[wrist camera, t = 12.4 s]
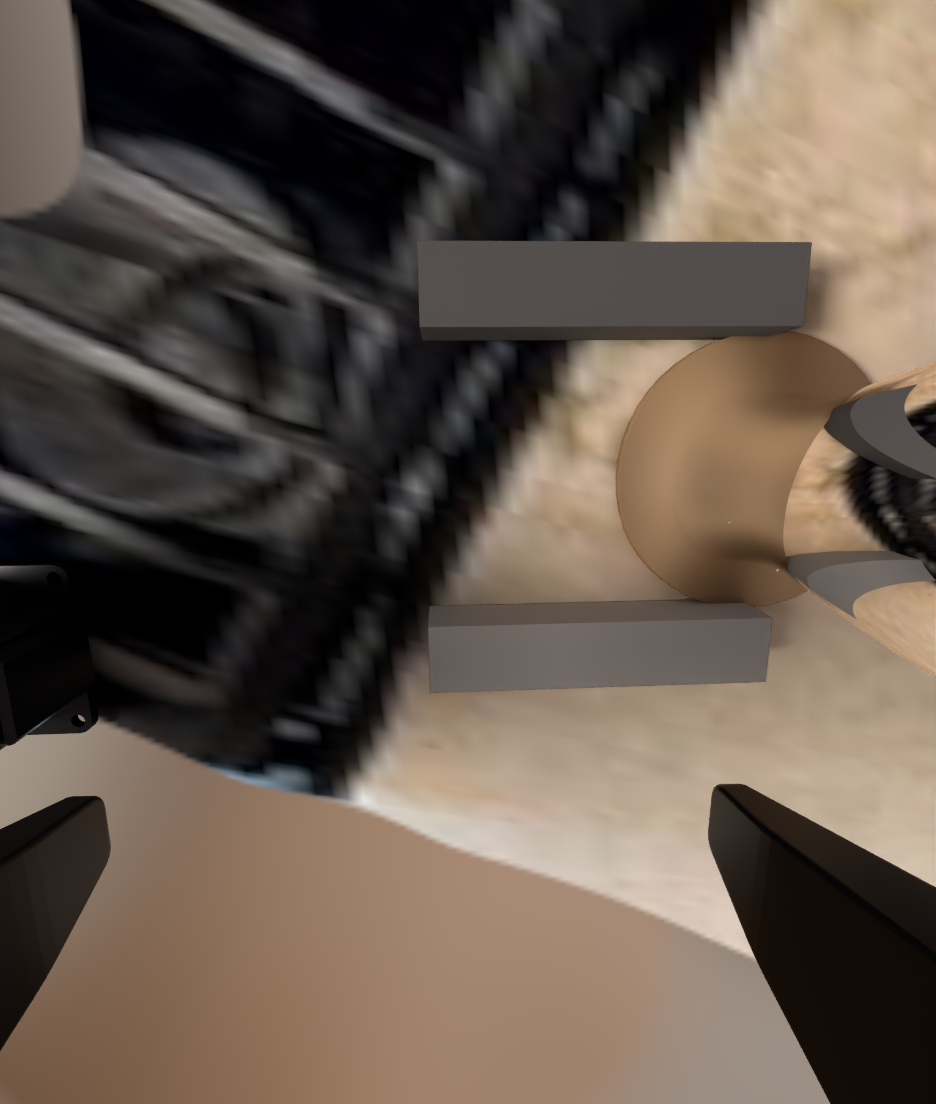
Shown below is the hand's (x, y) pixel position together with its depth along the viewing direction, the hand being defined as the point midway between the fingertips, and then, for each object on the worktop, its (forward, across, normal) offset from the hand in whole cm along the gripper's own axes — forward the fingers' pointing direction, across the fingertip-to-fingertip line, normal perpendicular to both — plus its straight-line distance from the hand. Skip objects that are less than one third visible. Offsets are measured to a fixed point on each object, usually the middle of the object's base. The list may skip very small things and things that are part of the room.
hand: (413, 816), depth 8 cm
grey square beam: (+13, -6, +2) cm, 15 cm away
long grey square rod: (+13, -6, -10) cm, 17 cm away
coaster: (+13, -12, -4) cm, 18 cm away
